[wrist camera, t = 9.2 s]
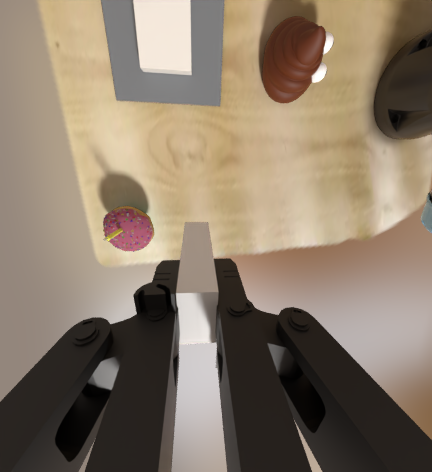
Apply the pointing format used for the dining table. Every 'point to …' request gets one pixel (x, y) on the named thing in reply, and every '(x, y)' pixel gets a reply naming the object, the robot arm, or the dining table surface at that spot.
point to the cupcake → (128, 228)
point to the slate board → (160, 84)
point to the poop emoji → (294, 58)
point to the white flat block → (164, 35)
